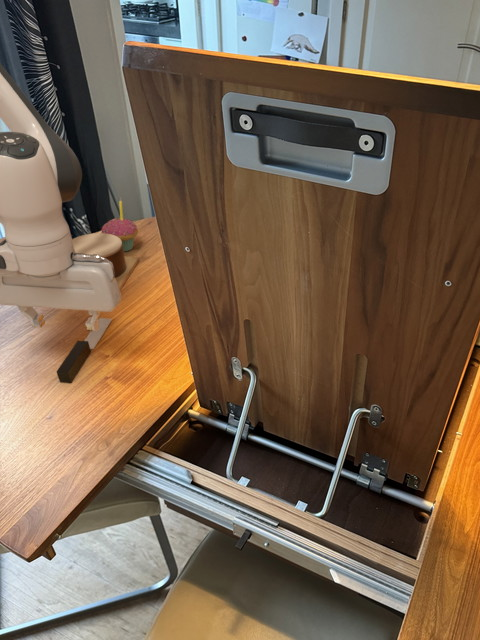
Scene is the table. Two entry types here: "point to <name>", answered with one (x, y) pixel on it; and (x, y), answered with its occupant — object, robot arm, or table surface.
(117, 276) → the cake
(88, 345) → the knife
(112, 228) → the cupcake
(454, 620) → the table surface
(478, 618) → the table surface
